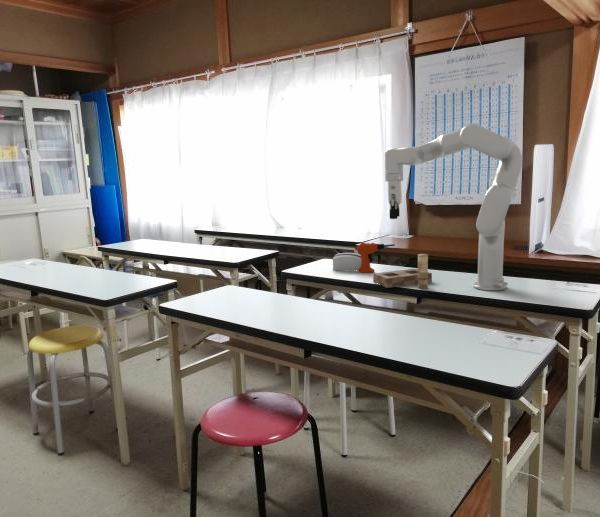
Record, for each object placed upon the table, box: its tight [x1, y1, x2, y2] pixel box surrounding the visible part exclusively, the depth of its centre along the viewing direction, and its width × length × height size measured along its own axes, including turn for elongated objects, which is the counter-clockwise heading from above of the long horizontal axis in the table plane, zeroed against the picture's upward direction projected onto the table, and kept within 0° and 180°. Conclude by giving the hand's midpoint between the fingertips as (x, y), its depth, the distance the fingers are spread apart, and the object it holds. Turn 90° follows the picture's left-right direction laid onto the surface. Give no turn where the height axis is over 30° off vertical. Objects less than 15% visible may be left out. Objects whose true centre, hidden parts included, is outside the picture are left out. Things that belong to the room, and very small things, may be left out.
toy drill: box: [356, 242, 396, 274], centre depth 249 cm, size 5×19×15 cm, turn 75°
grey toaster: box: [332, 252, 362, 272], centre depth 258 cm, size 17×5×10 cm, turn 68°
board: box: [372, 268, 433, 289], centre depth 228 cm, size 12×22×4 cm, turn 110°
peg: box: [417, 253, 429, 290], centre depth 215 cm, size 4×4×14 cm
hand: (394, 217), depth 226 cm, fingers open, 9 cm apart
